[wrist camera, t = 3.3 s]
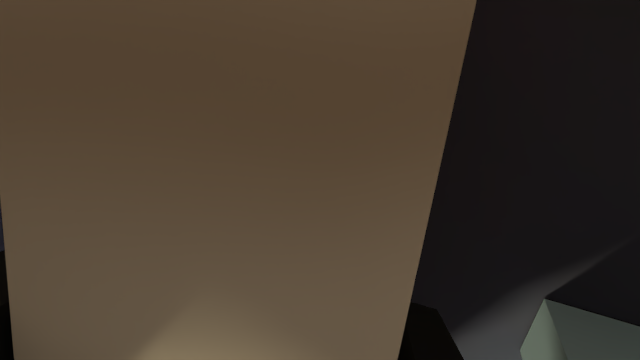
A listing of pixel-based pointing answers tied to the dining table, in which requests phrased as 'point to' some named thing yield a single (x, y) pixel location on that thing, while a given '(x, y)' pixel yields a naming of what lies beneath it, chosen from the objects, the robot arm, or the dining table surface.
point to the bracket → (579, 336)
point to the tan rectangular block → (220, 173)
